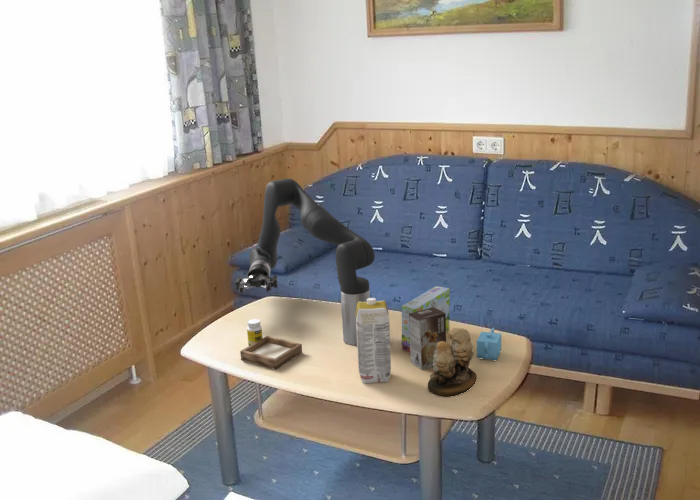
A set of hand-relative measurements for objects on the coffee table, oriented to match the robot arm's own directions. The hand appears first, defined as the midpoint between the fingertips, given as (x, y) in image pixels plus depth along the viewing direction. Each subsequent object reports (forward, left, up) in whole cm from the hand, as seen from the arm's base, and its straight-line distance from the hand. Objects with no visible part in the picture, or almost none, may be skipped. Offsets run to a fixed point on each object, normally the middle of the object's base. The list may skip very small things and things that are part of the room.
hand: (254, 290), depth 241 cm
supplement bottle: (-7, +9, -15) cm, 19 cm away
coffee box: (-62, -6, -15) cm, 64 cm away
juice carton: (-53, +10, -15) cm, 56 cm away
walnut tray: (-17, +13, -15) cm, 26 cm away
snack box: (-54, -20, -15) cm, 59 cm away
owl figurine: (-74, +2, -15) cm, 75 cm away
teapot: (-76, -19, -15) cm, 79 cm away
